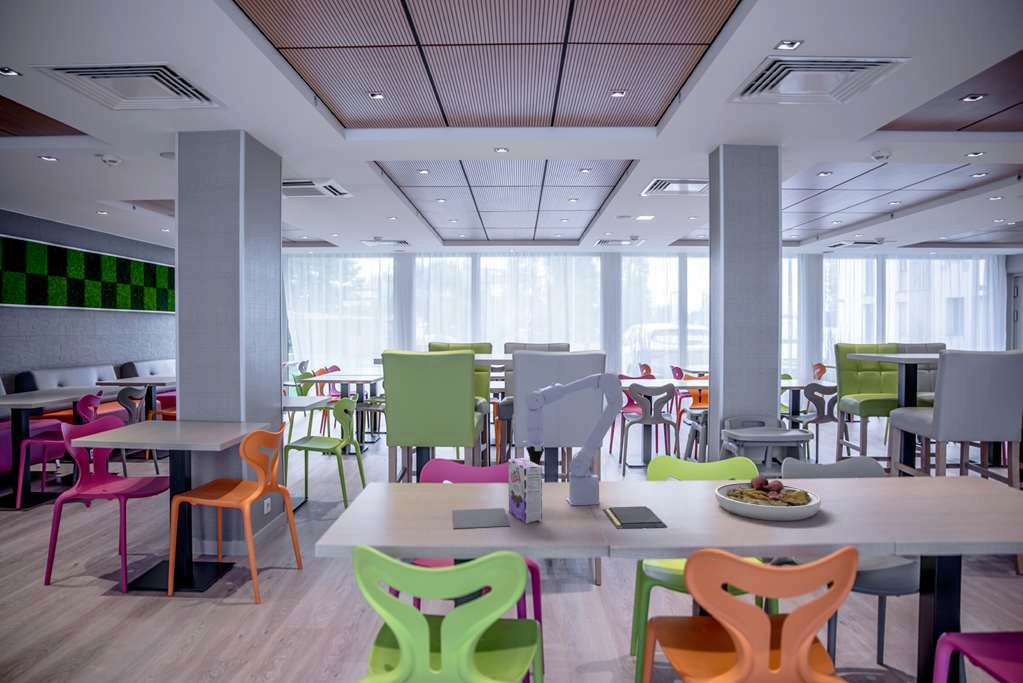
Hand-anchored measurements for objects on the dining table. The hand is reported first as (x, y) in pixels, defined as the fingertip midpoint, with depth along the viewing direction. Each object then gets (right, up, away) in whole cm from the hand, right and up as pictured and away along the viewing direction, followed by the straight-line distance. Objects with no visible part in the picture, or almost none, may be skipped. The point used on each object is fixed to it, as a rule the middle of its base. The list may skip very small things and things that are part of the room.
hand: (534, 468), depth 199 cm
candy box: (-4, -11, -18) cm, 21 cm away
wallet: (+28, -11, -21) cm, 37 cm away
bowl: (+71, -10, -13) cm, 73 cm away
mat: (-17, -11, -20) cm, 28 cm away
